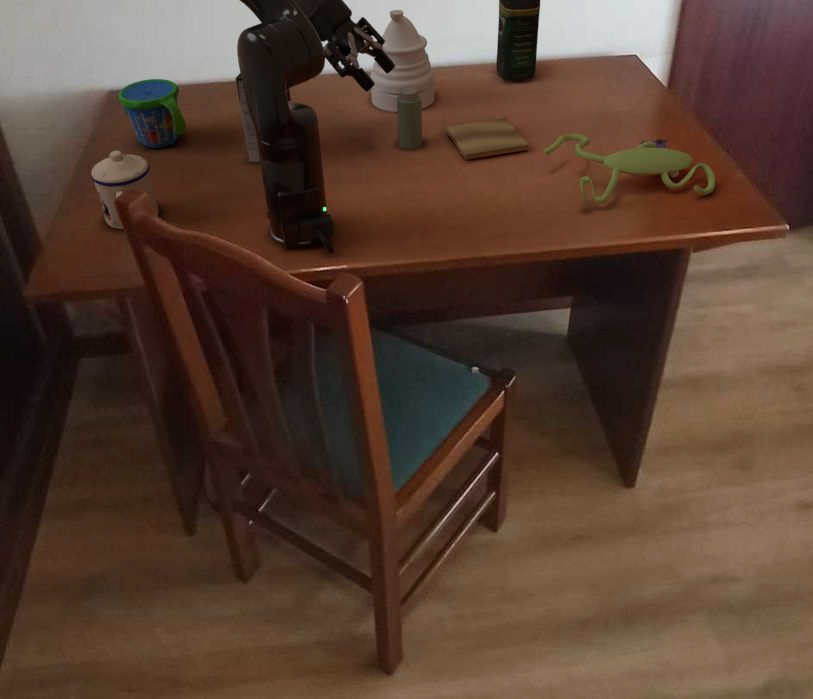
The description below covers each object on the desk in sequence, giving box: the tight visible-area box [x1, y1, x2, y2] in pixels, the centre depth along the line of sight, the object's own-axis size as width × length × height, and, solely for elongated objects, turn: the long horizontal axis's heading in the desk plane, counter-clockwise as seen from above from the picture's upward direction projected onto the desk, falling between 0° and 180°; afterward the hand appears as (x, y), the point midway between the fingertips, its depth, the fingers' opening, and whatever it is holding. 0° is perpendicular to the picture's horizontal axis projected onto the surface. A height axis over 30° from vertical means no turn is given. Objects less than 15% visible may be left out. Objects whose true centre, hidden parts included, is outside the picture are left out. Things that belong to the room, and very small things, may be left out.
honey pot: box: [369, 9, 435, 113], centre depth 171 cm, size 13×13×18 cm
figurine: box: [543, 133, 716, 211], centre depth 147 cm, size 18×27×6 cm
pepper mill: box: [396, 87, 423, 150], centre depth 158 cm, size 4×4×10 cm
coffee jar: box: [495, 0, 541, 83], centre depth 179 cm, size 10×8×19 cm
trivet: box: [445, 117, 530, 160], centre depth 160 cm, size 12×12×1 cm
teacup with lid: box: [90, 150, 159, 231], centre depth 139 cm, size 12×9×12 cm
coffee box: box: [235, 72, 292, 164], centre depth 155 cm, size 9×6×16 cm
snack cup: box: [118, 78, 187, 149], centre depth 163 cm, size 16×10×10 cm
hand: (381, 79), depth 156 cm, fingers open, 8 cm apart
